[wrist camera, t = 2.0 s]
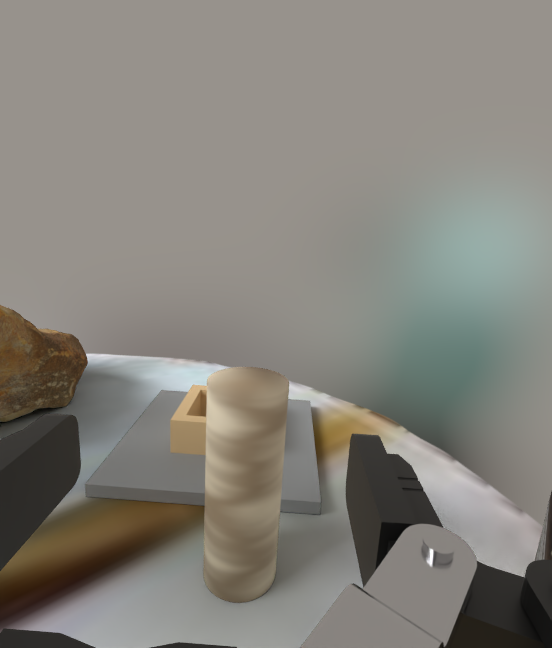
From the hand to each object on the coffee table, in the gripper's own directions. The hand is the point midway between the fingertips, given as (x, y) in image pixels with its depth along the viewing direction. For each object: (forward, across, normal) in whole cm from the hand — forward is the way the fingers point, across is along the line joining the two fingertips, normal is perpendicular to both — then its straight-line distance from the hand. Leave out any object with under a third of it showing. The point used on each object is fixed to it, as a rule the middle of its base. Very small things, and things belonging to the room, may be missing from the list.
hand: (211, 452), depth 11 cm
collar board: (+28, +4, +16) cm, 33 cm away
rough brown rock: (+33, +31, +16) cm, 49 cm away
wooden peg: (+12, 0, +17) cm, 21 cm away
